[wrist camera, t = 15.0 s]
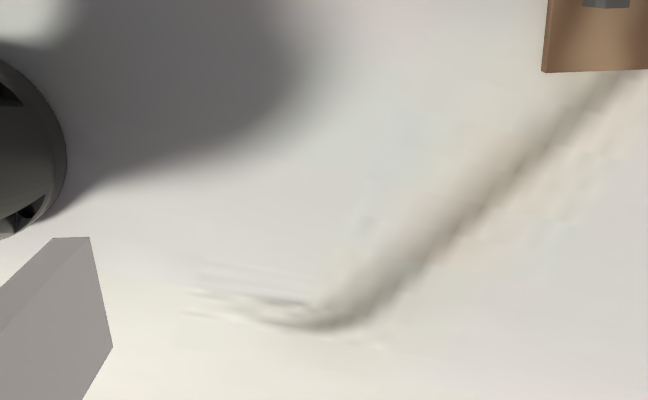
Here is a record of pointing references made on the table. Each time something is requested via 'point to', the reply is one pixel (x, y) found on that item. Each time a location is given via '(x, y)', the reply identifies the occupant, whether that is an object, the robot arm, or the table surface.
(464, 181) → the table surface
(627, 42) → the collar cradle
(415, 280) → the table surface
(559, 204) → the table surface
